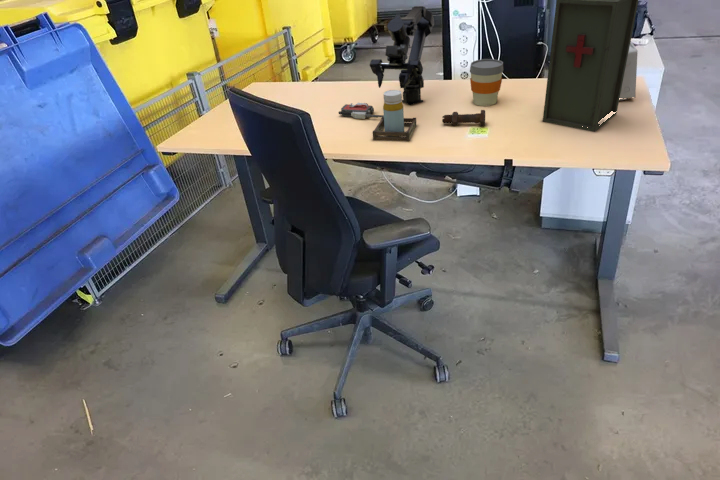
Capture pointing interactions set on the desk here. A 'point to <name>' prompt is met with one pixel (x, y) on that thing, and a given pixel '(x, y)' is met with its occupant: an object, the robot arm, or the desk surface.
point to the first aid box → (587, 61)
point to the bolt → (465, 118)
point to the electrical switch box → (630, 74)
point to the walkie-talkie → (358, 111)
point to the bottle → (393, 111)
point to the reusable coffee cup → (486, 81)
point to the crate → (395, 136)
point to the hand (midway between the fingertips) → (391, 87)
